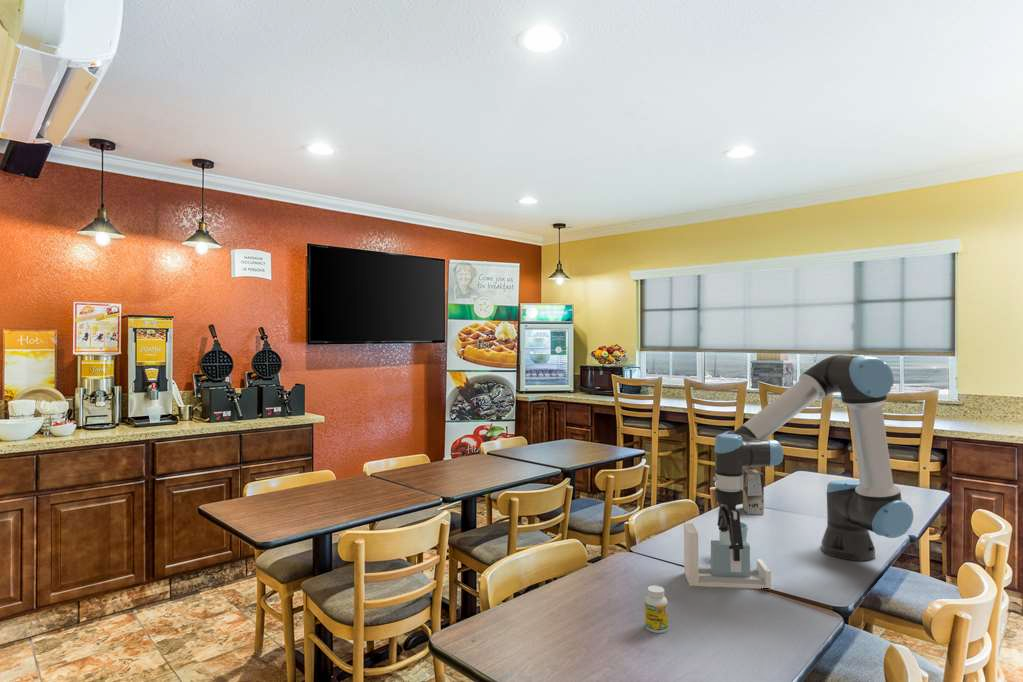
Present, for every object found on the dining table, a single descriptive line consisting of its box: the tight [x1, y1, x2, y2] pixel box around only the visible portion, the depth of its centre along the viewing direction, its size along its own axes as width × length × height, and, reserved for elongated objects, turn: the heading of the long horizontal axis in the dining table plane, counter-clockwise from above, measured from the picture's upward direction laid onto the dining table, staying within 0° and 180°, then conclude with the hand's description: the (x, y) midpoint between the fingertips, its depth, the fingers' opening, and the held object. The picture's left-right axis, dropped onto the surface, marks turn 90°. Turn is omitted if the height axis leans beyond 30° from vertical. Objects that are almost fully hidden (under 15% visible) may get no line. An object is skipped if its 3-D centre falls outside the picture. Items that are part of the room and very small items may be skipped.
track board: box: [683, 522, 772, 590], centre depth 169 cm, size 22×9×15 cm, turn 82°
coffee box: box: [742, 468, 765, 516], centre depth 235 cm, size 9×6×16 cm
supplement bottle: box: [644, 585, 669, 634], centre depth 142 cm, size 5×5×10 cm
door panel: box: [710, 539, 751, 578], centre depth 169 cm, size 10×4×10 cm, turn 83°
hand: (730, 562), depth 169 cm, fingers open, 13 cm apart
